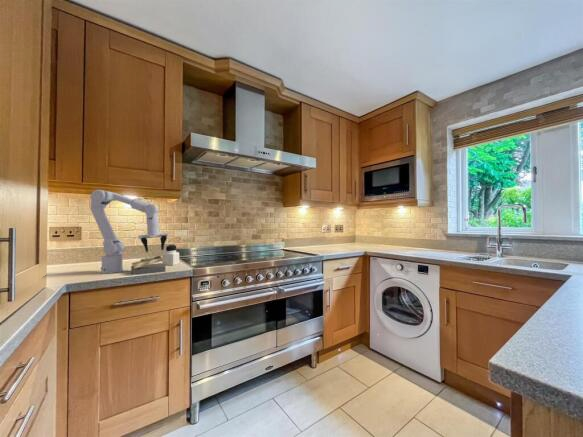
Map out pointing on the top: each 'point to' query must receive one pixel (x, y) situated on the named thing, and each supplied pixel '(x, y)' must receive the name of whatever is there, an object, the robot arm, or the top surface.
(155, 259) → the leveling plate
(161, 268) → the instrument base
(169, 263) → the medicine bottle
